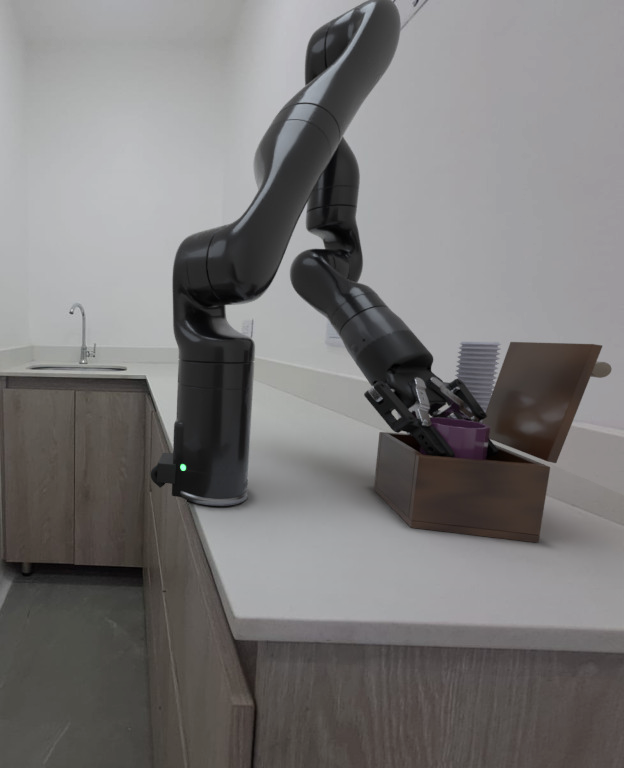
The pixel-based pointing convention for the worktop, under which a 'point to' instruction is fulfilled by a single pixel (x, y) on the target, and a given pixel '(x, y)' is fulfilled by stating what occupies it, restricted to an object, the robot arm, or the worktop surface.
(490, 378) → the screw
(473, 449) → the cup
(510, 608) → the worktop surface
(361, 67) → the robot arm
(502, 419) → the lid
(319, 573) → the worktop surface
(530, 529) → the chest
